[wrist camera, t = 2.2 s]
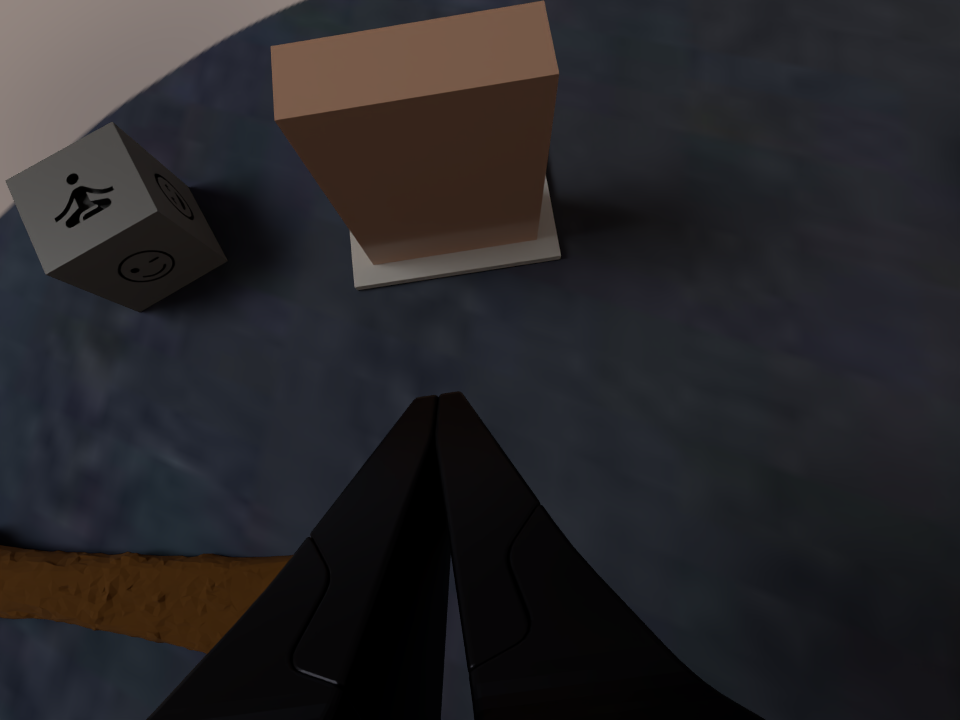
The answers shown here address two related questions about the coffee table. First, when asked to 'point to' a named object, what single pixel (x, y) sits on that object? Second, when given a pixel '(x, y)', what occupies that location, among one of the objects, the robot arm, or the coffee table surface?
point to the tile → (426, 128)
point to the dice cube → (114, 221)
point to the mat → (460, 257)
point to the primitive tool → (135, 592)
